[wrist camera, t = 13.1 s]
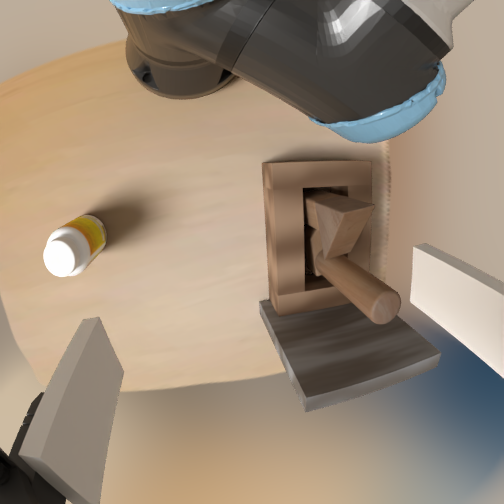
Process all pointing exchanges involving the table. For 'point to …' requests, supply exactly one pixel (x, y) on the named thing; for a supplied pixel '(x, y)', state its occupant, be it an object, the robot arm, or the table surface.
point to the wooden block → (344, 252)
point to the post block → (328, 297)
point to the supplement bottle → (74, 246)
